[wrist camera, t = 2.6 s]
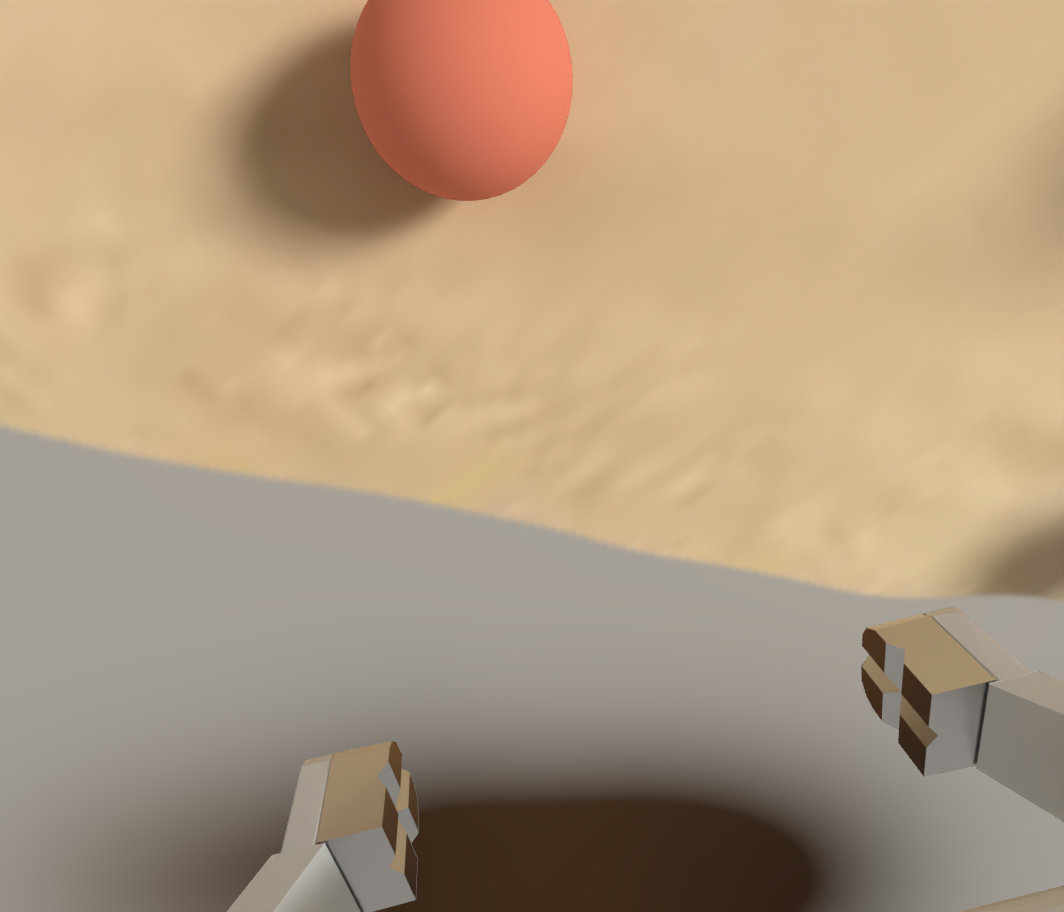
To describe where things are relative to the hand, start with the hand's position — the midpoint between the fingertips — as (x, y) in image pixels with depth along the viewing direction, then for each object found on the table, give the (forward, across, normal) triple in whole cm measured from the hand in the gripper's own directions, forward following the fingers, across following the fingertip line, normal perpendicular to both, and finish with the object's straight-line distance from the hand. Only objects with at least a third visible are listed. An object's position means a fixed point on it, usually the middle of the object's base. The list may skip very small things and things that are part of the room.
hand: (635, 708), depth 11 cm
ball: (+13, 0, -10) cm, 17 cm away
